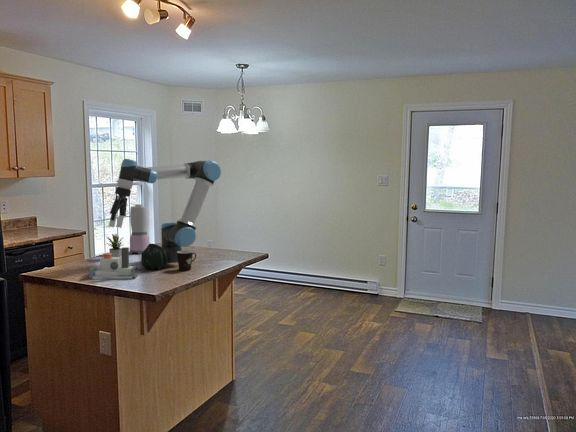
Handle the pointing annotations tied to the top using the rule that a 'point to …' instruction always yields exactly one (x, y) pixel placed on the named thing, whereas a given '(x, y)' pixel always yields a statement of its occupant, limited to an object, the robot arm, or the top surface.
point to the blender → (139, 228)
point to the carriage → (124, 263)
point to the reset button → (107, 255)
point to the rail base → (111, 274)
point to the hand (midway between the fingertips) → (115, 227)
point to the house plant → (115, 246)
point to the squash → (154, 257)
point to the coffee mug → (185, 260)
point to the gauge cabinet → (110, 264)
